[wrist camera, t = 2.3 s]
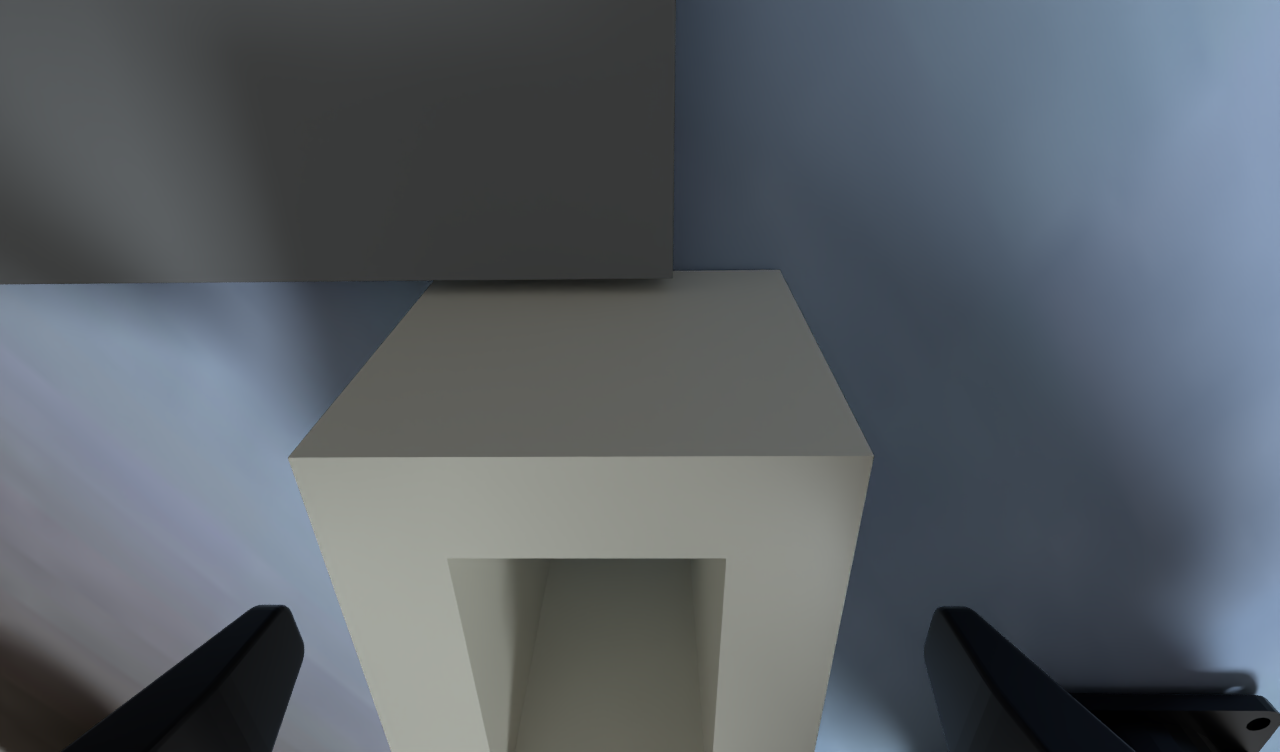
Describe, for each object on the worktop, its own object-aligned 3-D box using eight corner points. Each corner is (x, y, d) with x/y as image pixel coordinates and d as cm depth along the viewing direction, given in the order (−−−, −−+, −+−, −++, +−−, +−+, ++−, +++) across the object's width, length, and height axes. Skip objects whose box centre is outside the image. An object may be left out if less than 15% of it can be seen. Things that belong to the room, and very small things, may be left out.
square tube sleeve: (779, 269, 10) (880, 469, 6) (748, 598, 14) (794, 878, 9) (440, 272, 10) (277, 470, 6) (498, 598, 14) (424, 873, 10)
